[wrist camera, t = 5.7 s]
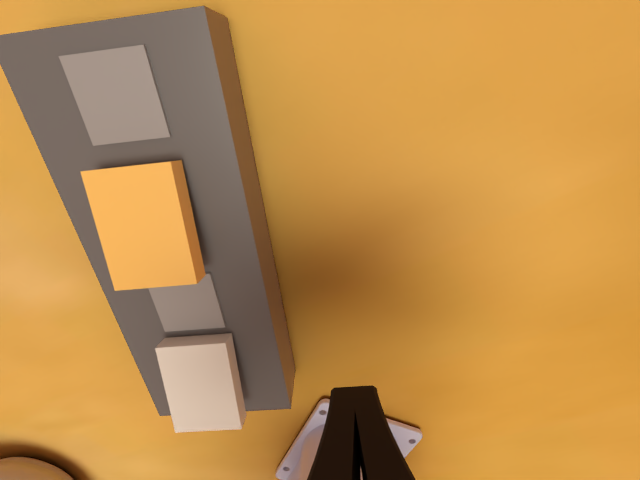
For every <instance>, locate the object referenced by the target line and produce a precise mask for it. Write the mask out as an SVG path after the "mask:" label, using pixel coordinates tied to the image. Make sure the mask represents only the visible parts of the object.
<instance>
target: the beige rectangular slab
mask: <svg viewBox="0 0 640 480" xmlns="http://www.w3.org/2000/svg"><path fill="white" fill-rule="evenodd" d="M155 350H156V354H157V359H158V363H159V367H160V371H161V375H162V379H163V384H164V388H165V392H166V396H167V400H168V404H169V409H170V413H171V417H172V421H173V425H174V429H175V433H176V432H195V431H215V430H234V429H242V427H243V424H244V421H245V418H246V410H245V404H244V399H243V393H242V388H241V382H240V377H239V371H238V366H237V360H236V355H235V349H234V344H233V338H232V333H225V334H211V335H197V336H183V337H170V338H164V339H163V340H162V341H161V342H160V343H159V344H158V345H157V347H156V348H155Z"/></svg>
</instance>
